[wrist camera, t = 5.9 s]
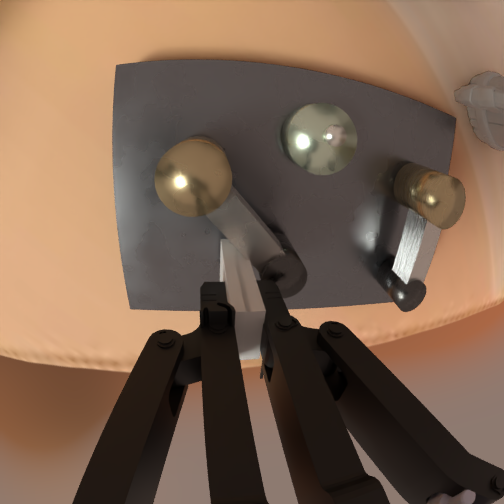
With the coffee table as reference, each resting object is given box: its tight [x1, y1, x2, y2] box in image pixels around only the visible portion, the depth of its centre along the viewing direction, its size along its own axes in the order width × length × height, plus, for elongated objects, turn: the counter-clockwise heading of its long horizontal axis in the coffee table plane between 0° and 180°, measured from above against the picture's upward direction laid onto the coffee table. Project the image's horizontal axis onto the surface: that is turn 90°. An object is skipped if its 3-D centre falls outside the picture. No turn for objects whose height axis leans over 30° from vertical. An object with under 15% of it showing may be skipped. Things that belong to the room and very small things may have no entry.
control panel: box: [112, 60, 456, 311], centre depth 17 cm, size 23×16×4 cm
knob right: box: [376, 163, 466, 312], centre depth 16 cm, size 3×10×4 cm, turn 175°
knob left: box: [154, 136, 307, 299], centre depth 14 cm, size 3×10×4 cm, turn 38°
